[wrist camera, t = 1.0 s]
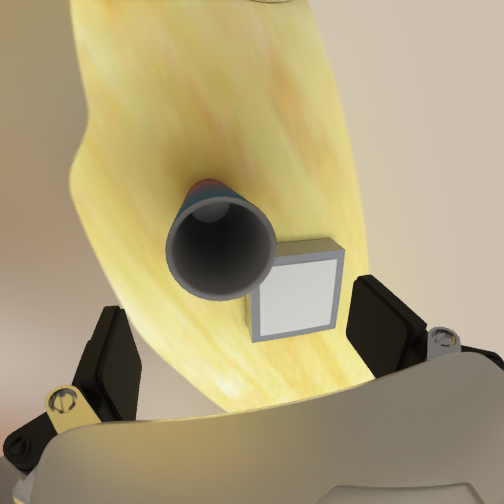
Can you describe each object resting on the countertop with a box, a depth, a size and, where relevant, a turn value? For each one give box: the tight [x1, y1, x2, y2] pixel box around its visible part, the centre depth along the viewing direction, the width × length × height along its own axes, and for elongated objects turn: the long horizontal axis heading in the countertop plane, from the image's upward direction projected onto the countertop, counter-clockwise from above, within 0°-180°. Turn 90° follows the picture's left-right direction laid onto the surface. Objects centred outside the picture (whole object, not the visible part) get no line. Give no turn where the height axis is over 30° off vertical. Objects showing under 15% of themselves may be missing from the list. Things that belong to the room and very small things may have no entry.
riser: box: [245, 238, 345, 343], centre depth 35 cm, size 11×11×4 cm
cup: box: [165, 179, 277, 301], centre depth 24 cm, size 7×7×15 cm
